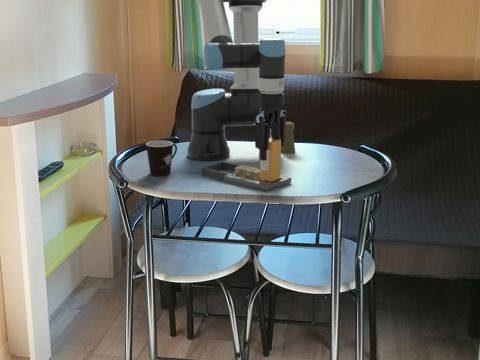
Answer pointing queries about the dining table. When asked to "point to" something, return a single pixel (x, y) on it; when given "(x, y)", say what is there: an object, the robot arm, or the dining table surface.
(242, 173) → the beige cube
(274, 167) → the orange rectangular block
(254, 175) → the tan wooden cube
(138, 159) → the dining table surface
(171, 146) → the coffee mug
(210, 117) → the robot arm
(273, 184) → the grey flat rectangular tray
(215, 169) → the frame
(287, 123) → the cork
